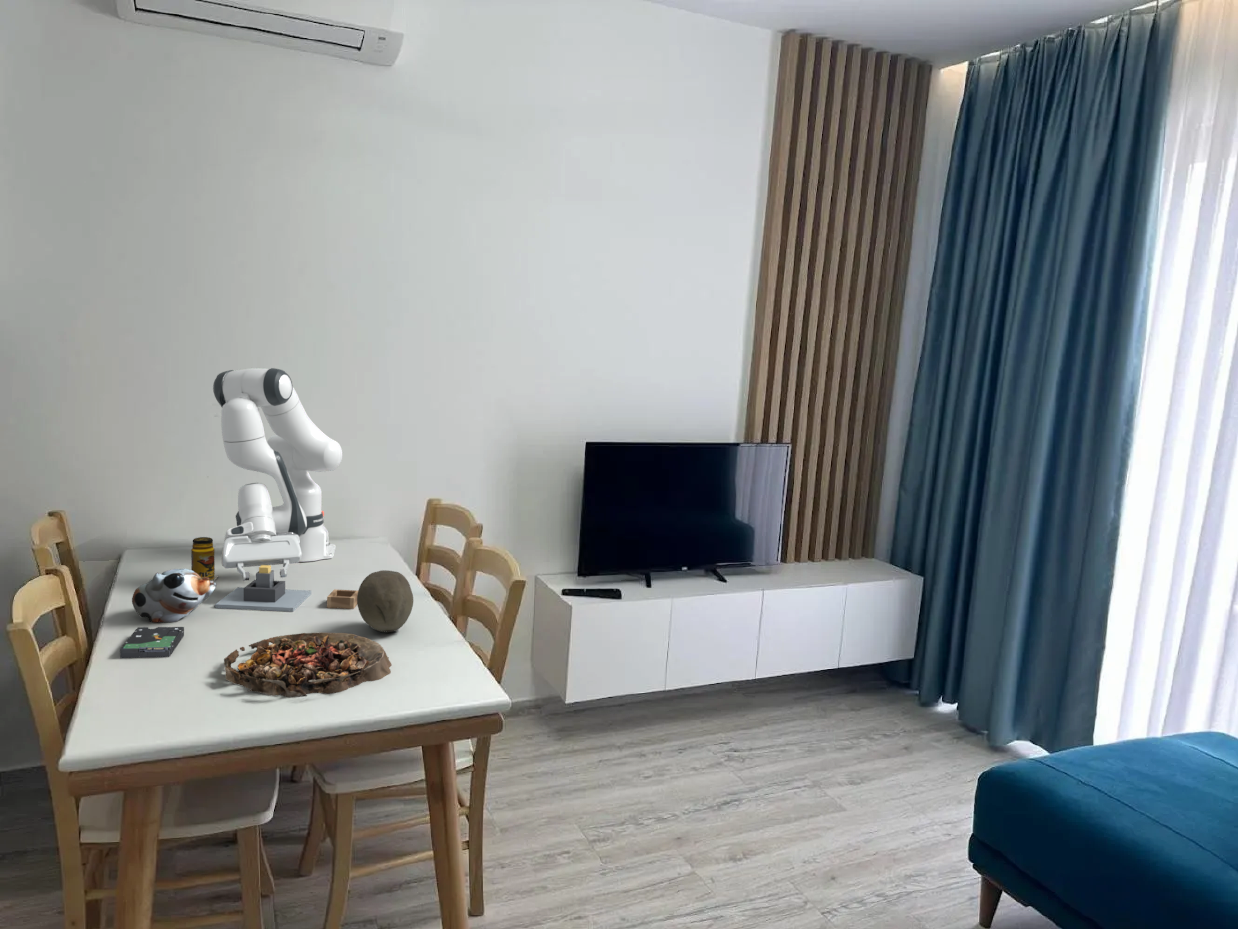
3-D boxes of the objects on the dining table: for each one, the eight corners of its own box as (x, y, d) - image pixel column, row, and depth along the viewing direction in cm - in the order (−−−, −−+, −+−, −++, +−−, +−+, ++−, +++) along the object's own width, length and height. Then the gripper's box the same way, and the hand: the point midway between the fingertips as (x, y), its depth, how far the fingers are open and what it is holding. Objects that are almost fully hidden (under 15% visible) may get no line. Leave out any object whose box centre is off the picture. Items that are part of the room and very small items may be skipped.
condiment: (211, 583, 263) (211, 541, 261) (180, 582, 262) (179, 541, 260) (219, 576, 270) (219, 536, 268) (188, 575, 269) (188, 535, 267)
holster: (334, 600, 254) (334, 589, 254) (360, 601, 254) (360, 590, 254) (327, 607, 247) (327, 596, 247) (353, 609, 247) (353, 598, 247)
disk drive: (136, 638, 219) (119, 660, 204) (136, 627, 218) (119, 648, 204) (184, 637, 221) (170, 658, 207) (184, 626, 221) (170, 646, 207)
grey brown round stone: (425, 629, 235) (427, 571, 232) (382, 643, 223) (384, 583, 221) (386, 617, 242) (387, 561, 240) (343, 630, 231) (343, 571, 228)
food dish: (215, 710, 184) (213, 673, 183) (233, 654, 216) (232, 622, 214) (397, 695, 194) (397, 659, 193) (389, 643, 225) (389, 612, 224)
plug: (260, 595, 251) (260, 564, 250) (273, 595, 252) (274, 565, 250) (255, 598, 248) (255, 567, 247) (269, 599, 248) (269, 568, 247)
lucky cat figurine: (194, 602, 245) (217, 555, 241) (201, 636, 235) (225, 588, 231) (126, 592, 234) (149, 543, 230) (130, 627, 225) (154, 577, 220)
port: (238, 590, 257) (238, 574, 257) (311, 594, 258) (311, 578, 258) (215, 608, 242) (215, 591, 241) (293, 611, 242) (293, 594, 242)
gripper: (296, 537, 263) (303, 580, 256) (218, 542, 253) (223, 587, 246) (300, 525, 258) (307, 568, 252) (220, 530, 248) (225, 575, 241)
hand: (265, 578), depth 249 cm, fingers open, 8 cm apart
